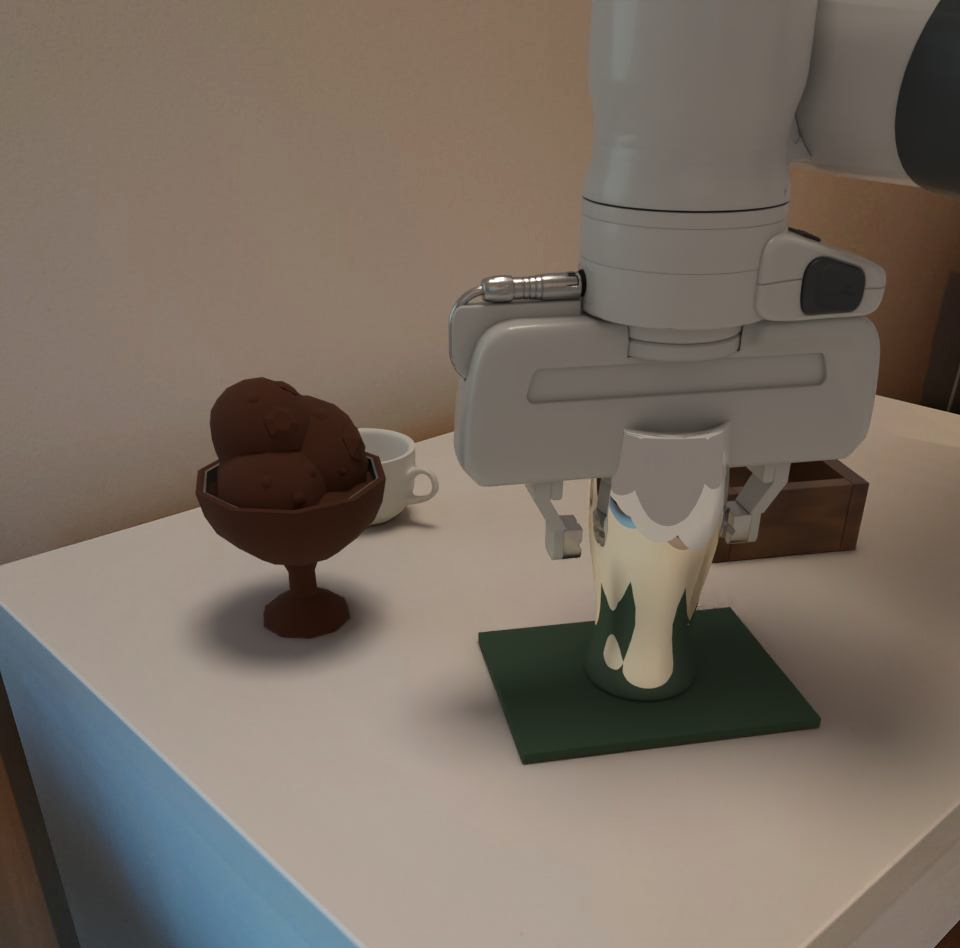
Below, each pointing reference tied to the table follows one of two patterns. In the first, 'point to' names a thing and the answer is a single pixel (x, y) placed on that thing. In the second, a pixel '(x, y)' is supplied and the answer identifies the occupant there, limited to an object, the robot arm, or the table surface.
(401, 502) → the teacup
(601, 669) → the beer glass
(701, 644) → the mat
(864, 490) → the divided wooden box
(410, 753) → the table surface
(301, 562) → the ice cream bowl
